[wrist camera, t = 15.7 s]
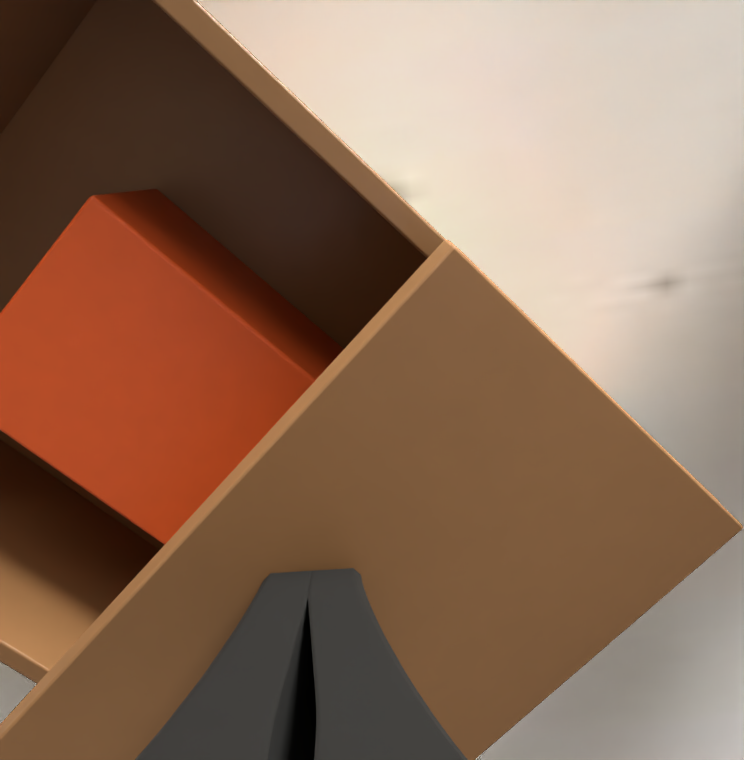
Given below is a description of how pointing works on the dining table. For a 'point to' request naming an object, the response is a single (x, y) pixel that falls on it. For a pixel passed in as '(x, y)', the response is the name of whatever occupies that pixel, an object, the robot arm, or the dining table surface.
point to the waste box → (194, 197)
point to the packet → (149, 358)
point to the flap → (408, 529)
